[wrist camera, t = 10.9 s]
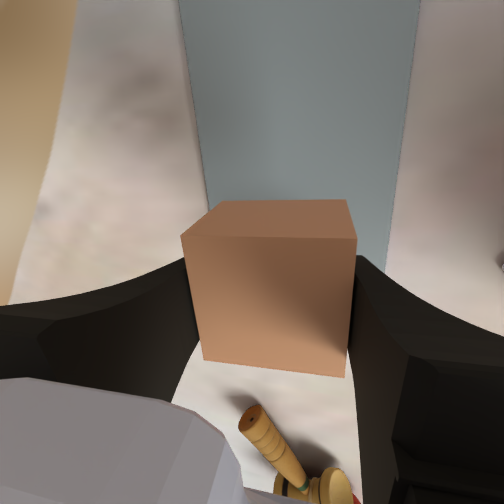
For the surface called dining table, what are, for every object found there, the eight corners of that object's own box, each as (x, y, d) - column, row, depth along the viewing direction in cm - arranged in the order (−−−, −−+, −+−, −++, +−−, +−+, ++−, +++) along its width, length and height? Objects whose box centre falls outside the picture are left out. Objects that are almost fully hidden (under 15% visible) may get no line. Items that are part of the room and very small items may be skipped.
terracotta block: (338, 306, 13) (344, 378, 9) (233, 299, 14) (204, 360, 10) (345, 199, 11) (358, 238, 7) (222, 200, 12) (180, 235, 8)
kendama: (227, 407, 32) (319, 521, 33) (209, 458, 26) (324, 595, 27) (281, 376, 30) (378, 499, 31) (276, 424, 24) (397, 574, 25)
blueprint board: (374, 341, 22) (375, 344, 22) (229, 328, 25) (227, 332, 24) (429, -88, 12) (432, -95, 12) (177, -29, 15) (173, -32, 14)
